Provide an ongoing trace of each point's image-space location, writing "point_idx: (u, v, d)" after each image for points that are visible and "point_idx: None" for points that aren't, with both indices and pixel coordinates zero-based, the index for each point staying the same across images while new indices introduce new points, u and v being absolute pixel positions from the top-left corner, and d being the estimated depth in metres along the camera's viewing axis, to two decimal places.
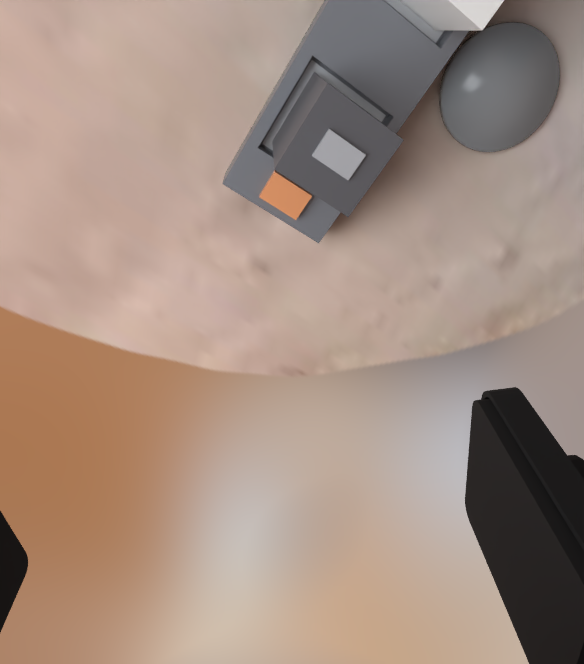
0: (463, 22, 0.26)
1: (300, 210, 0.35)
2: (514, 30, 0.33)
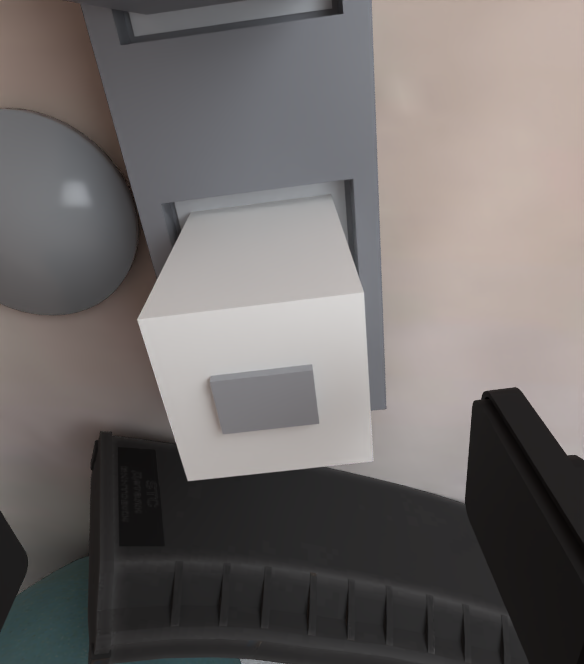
0: (176, 289, 0.12)
1: None
2: (99, 290, 0.21)
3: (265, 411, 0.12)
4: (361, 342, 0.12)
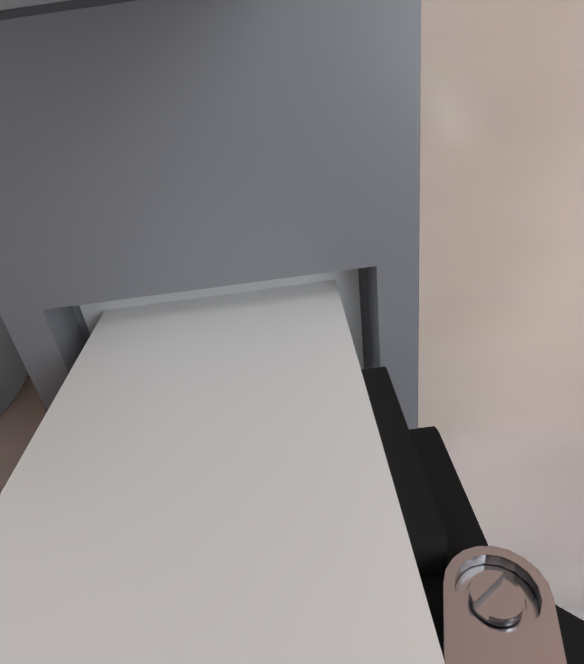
0: None
1: None
2: None
3: None
4: None
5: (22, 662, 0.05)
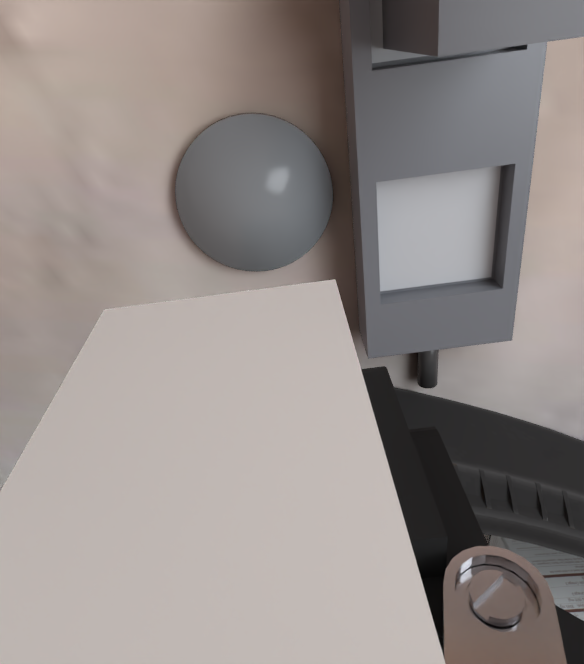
0: None
1: None
2: (296, 251, 0.28)
3: None
4: None
5: (20, 663, 0.05)
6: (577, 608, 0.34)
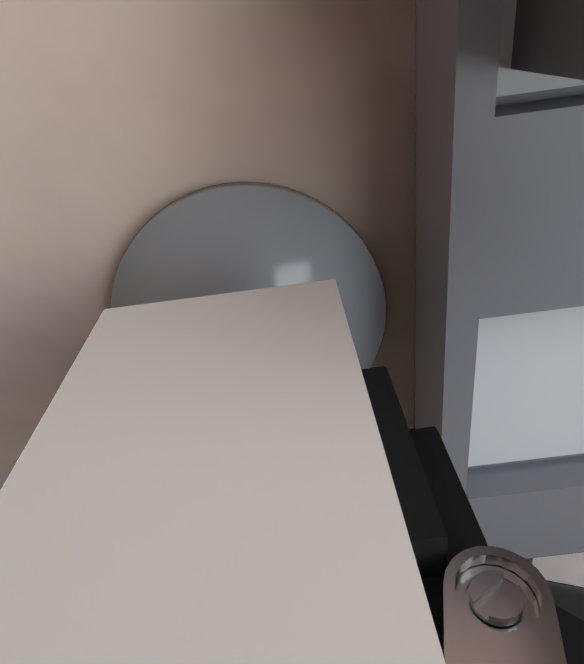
0: None
1: None
2: None
3: None
4: None
5: (19, 663, 0.05)
6: None
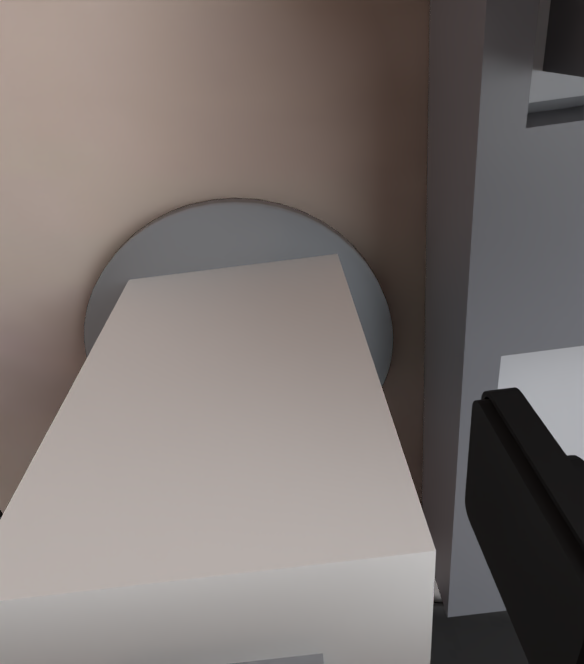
0: (59, 494, 0.06)
1: None
2: None
3: None
4: (420, 620, 0.06)
5: (89, 530, 0.06)
6: None
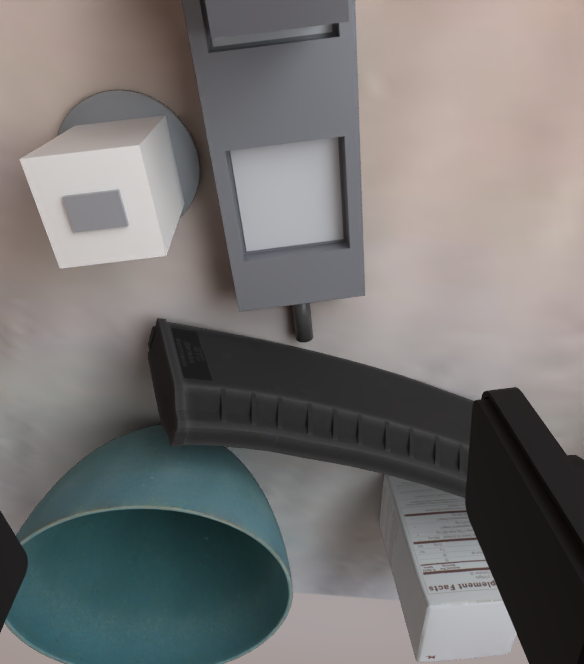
0: (45, 150, 0.22)
1: None
2: None
3: (96, 217, 0.22)
4: (143, 175, 0.22)
5: (54, 151, 0.22)
6: (442, 539, 0.39)
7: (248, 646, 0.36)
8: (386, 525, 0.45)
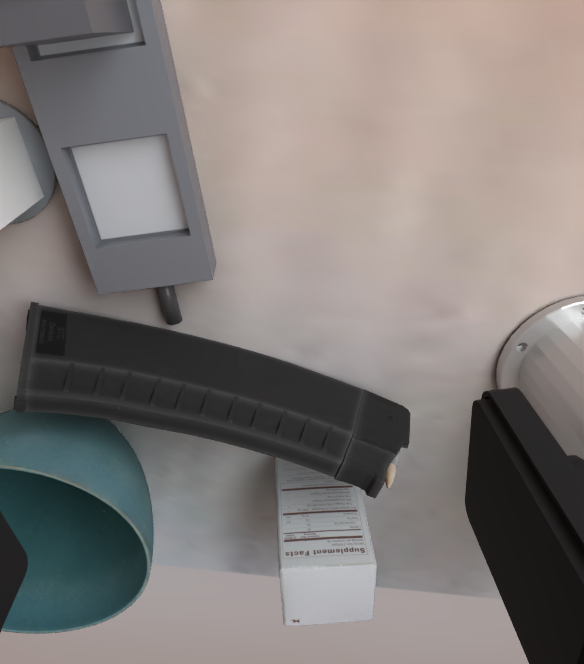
0: None
1: None
2: (34, 207, 0.34)
3: None
4: None
5: None
6: (311, 511, 0.41)
7: (121, 606, 0.39)
8: None
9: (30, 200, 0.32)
